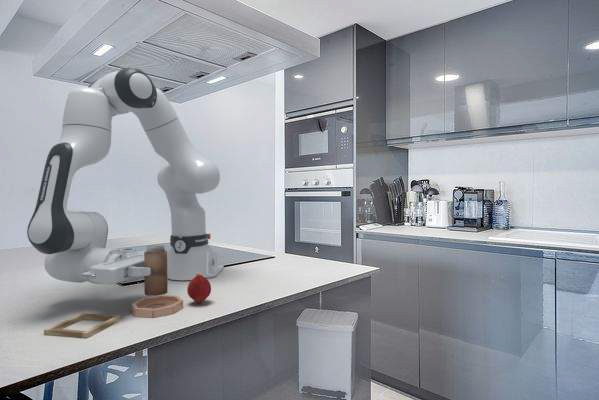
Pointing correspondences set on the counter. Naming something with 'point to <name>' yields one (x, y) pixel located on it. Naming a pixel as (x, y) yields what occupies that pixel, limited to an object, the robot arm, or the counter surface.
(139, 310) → the dish
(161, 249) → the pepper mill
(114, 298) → the counter surface
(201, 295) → the onion
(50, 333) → the holder frame
